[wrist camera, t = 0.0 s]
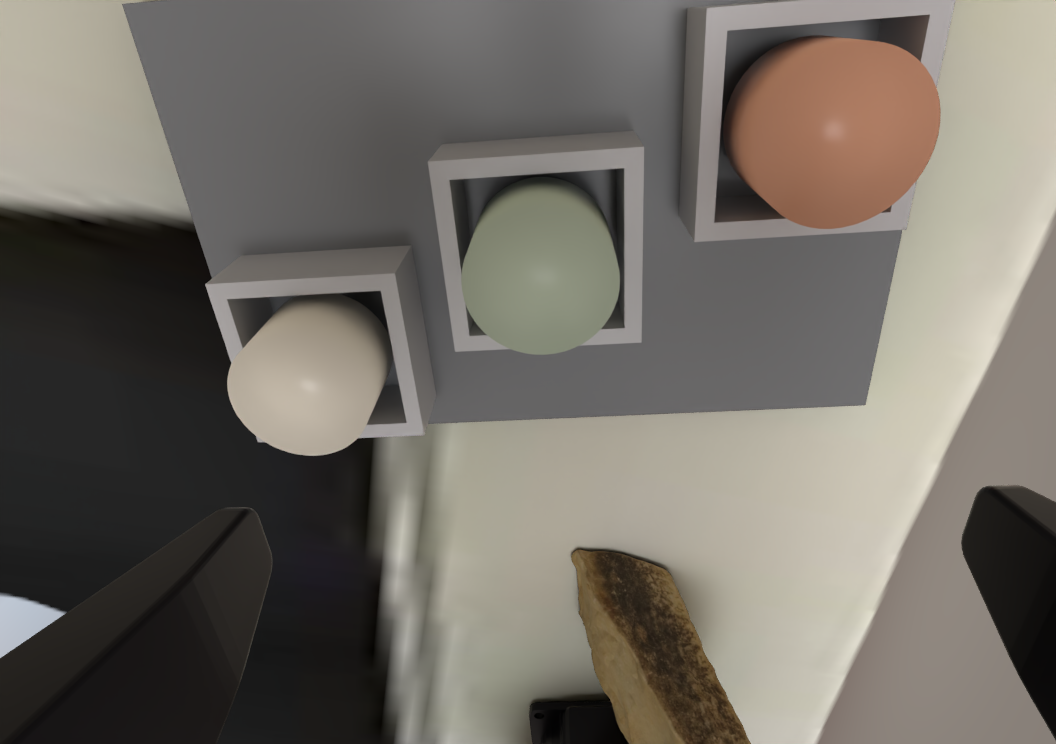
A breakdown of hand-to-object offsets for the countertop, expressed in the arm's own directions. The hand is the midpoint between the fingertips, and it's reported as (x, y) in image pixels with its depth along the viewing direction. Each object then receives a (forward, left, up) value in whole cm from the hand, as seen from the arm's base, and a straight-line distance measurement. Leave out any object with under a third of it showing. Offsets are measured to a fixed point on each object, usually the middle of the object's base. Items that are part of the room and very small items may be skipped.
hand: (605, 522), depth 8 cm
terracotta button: (+3, -6, -12) cm, 14 cm away
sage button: (0, +1, -12) cm, 12 cm away
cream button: (-3, +8, -12) cm, 15 cm away
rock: (-20, -2, -15) cm, 25 cm away
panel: (0, +1, -15) cm, 15 cm away
